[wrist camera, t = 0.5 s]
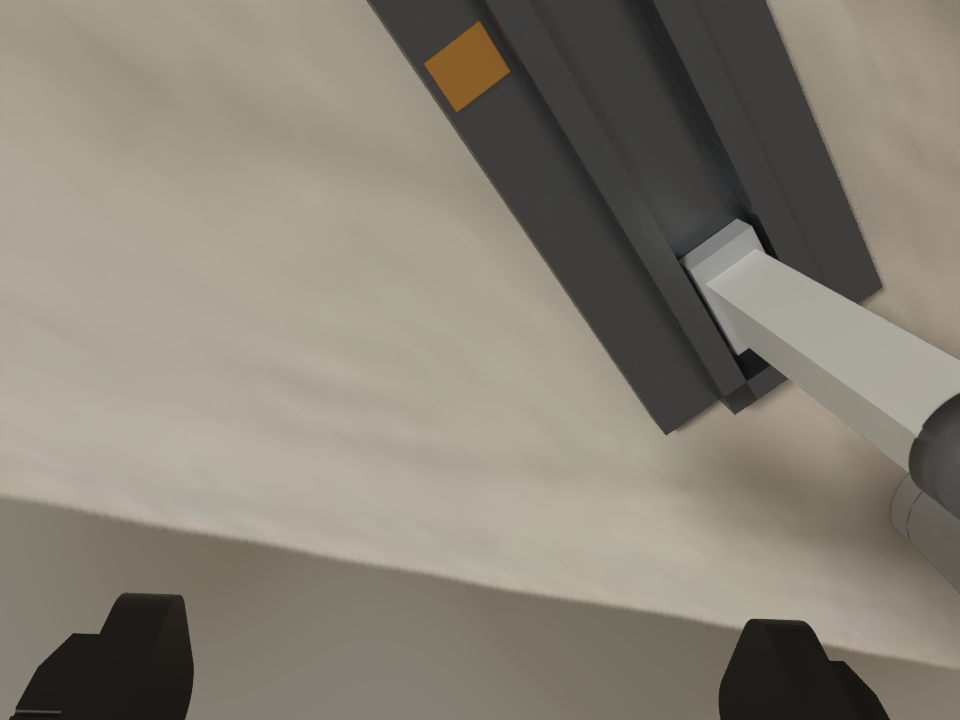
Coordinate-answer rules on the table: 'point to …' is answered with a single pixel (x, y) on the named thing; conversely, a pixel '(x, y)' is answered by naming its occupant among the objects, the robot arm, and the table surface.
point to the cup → (928, 529)
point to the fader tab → (837, 356)
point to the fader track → (642, 164)
